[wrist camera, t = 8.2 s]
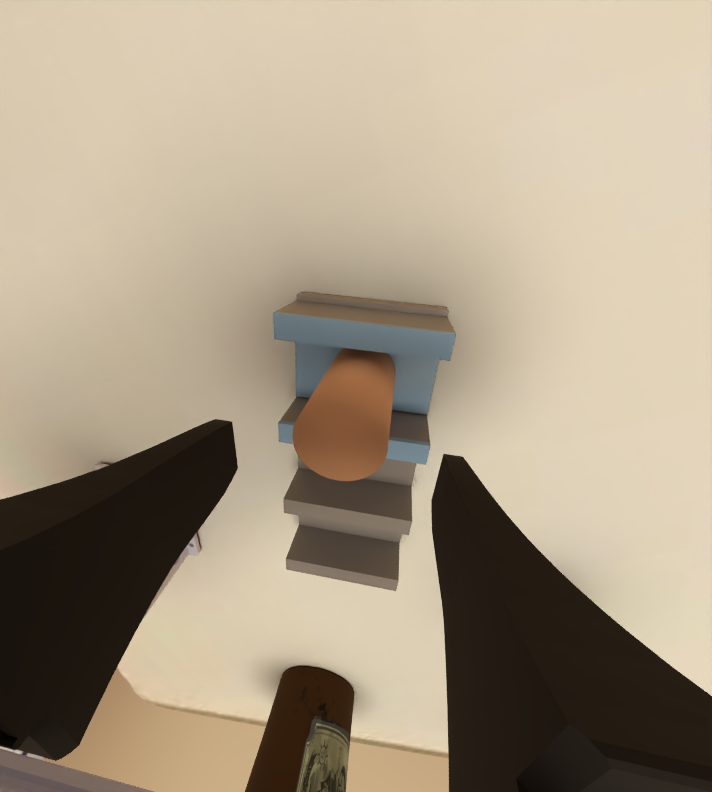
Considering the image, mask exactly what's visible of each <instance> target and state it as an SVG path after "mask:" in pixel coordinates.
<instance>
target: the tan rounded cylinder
mask: <svg viewBox="0 0 712 792" xmlns="http://www.w3.org/2000/svg"><path fill="white" fill-rule="evenodd" d="M395 373H396V372H395V365H394V362H393V360H392V358H391V357H390V355H389V354H388V353H382V352H374V351H366V350H358V349H350V348H343V349H342V350H341V351H340V352H339V353H338V355H337V356H336V358H335V359H334V361H333V363H332V364H331V366H330V367H329V369H328V370H327V372H326V374H325V375H324V377H323V378H322V380H321V382H320V383H319V385H318V386H317V388H316V390H315V391H314V393H313V394H312V396H311V397H310V399H309V401H308V402H307V404H306V405H305V407H304V409H303V410H302V412H301V413H300V415H299V417H298V418H297V420H296V422H295V424H294V428H293V435H292V437H293V444H294V447H295V450H296V452H297V454H298V456H299V457H300V458H301V460H302V461H303V462H304V463H305V464H306V465H307V466H308V467H309V468H310V469H311V470H313V471H314V472H316V473H318V474H319V475H321V476H324V477H326V478H329V479H333V480H338V481H355V480H360V479H363V478H366V477H368V476H370V475H371V474H373V473H374V472H376V471H377V470H378V469H379V468H380V467H381V465H382V464H383V462H384V461H385V458H386V456H387V452H388V443H389V433H390V423H391V413H392V403H393V394H394V384H395Z"/></svg>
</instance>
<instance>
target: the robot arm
mask: <svg viewBox="0 0 712 792" xmlns="http://www.w3.org/2000/svg"><path fill="white" fill-rule="evenodd" d="M237 469H238V465H237V457H236V449H235V441H234V433H233V426H232V422H230V421H224V420H217V419H215V420H212V421H209V422H207V423H204V424H202V425H200V426H198V427H195V428H193V429H191V430H189V431H187V432H184V433H182V434H180V435H178V436H176V437H173V438H171V439H169V440H167V441H165V442H163V443H160V444H158V445H156V446H154V447H152V448H149V449H147V450H144V451H142V452H140V453H137V454H135V455H133V456H130V457H128V458H125V459H123V460H121V461H118V462H116V463H113V464H111V465H107V464H101V463H98V464H97V465H95V466H94V471H92V472H89V473H87V474H84V475H81V476H78V477H75V478H72V479H69V480H66V481H63V482H60V483H57V484H53V485H50V486H47V487H43V488H40V489H36V490H33V491H30V492H26V493H23V494H20V495H16V496H13V497H9V498H5V499H1V500H0V792H153V791H150V790H146V789H142V788H139V787H135V786H132V785H128V784H125V783H121V782H117V781H114V780H110V779H107V778H103V777H100V776H96V775H93V774H89V773H86V772H82V771H78V770H75V769H71V768H68V767H64V766H61V765H57V764H54V763H50V762H46V761H43V760H42V759H43V758H44V757H45V758H48V759H52V760H55V761H56V760H59V759H61V758H63V757H64V756H66V755H67V754H69V753H71V752H72V751H73V750H74V749H75V748H76V747H77V746H79V744H80V742H81V740H82V738H83V736H84V734H85V731H86V729H87V727H88V725H89V723H90V721H91V719H92V716H93V715H94V713H95V710H96V708H97V706H98V704H99V702H100V700H101V698H102V696H103V694H104V692H105V690H106V688H107V686H108V683H109V682H110V680H111V677H112V675H113V674H114V671H115V670H116V668H117V666H118V664H119V662H120V660H121V658H122V656H123V655H124V653H125V651H126V649H127V647H128V645H129V643H130V641H131V639H132V637H133V635H134V633H135V632H136V630H137V628H138V626H139V624H140V623H141V621H142V619H143V618H144V616H145V615H146V614H147V613H148V611H149V610H150V608H151V607H152V605H153V604H154V603H155V601H156V600H157V598H158V597H159V595H160V594H161V593H162V591H163V590H164V588H165V587H166V585H167V584H168V583H169V581H170V580H171V578H172V577H173V575H174V574H175V573H176V571H177V570H178V568H179V567H180V565H181V564H182V563H183V561H184V560H185V558H186V557H187V555H188V554H189V555H195V556H196V555H198V554H199V552H200V546H199V542H198V538H197V534H196V533H197V531H198V530H199V528H200V527H201V526H202V524H203V523H204V522H205V520H206V519H207V517H208V516H209V515H210V513H211V512H212V510H213V509H214V508H215V506H216V505H217V503H218V502H219V501H220V499H221V498H222V496H223V495H224V493H225V492H226V490H227V488H228V486H229V484H230V483H231V481H232V479H233V477H234V475H235V473H236V471H237ZM432 533H433V541H434V548H435V556H436V563H437V570H438V577H439V584H440V591H441V599H442V607H443V617H444V633H445V653H446V678H447V705H448V747H449V792H712V696H711V695H709V694H708V693H707V692H705V691H704V690H703V689H701V688H700V687H699V686H697V685H696V684H694V683H693V682H692V681H690V680H689V679H688V678H686V677H685V676H684V675H682V674H681V673H680V672H678V671H677V670H675V669H674V668H673V667H672V666H670V665H669V664H668V663H666V662H665V661H664V660H663V659H661V658H660V657H659V656H658V655H656V654H655V653H654V652H653V651H651V650H650V649H649V648H648V647H646V646H645V645H644V644H643V643H641V642H640V641H639V640H638V639H636V638H635V637H634V636H633V635H631V634H630V633H629V632H628V631H626V630H625V629H624V628H623V627H622V626H620V625H619V624H618V623H617V622H616V621H614V620H613V619H612V618H611V617H610V616H608V615H607V614H606V613H605V612H604V611H603V610H601V609H600V608H599V607H598V606H597V605H596V604H595V603H594V602H593V601H591V600H590V599H589V598H588V597H587V596H586V595H585V594H584V593H582V592H581V591H580V590H579V589H578V588H577V587H576V586H575V585H573V584H572V583H571V582H570V581H569V580H568V579H567V578H566V577H565V576H564V575H563V574H562V573H561V572H560V571H559V570H558V569H557V568H556V567H555V566H554V565H553V564H552V563H551V562H550V561H549V560H548V559H547V558H546V557H545V556H544V555H543V554H542V553H541V552H540V551H539V550H538V549H537V548H536V547H535V546H534V545H533V544H532V543H531V542H530V541H529V540H528V539H527V537H526V536H525V535H524V534H523V533H522V532H521V531H520V530H519V528H518V527H517V526H516V525H515V524H514V523H513V522H512V520H511V519H510V518H509V517H508V516H507V514H506V513H505V512H504V511H503V510H502V508H501V507H500V506H499V505H498V503H497V502H496V501H495V499H494V498H493V497H492V496H491V494H490V493H489V492H488V490H487V489H486V488H485V486H484V485H483V484H482V482H481V481H480V480H479V478H478V477H477V475H476V474H475V473H474V471H473V470H472V468H471V467H470V466H469V464H468V463H467V462H466V460H465V459H464V458H463V457H460V456H454V455H447V454H444V455H443V458H442V462H441V466H440V470H439V474H438V478H437V482H436V486H435V489H434V493H433V497H432Z"/></svg>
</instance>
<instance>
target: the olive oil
mask: <svg viewBox="0 0 712 792" xmlns="http://www.w3.org/2000/svg"><path fill="white" fill-rule="evenodd" d="M353 703H354V691H353V689H352V687H351V686H350V685H349V684H348V683H347V682H346V681H345V680H344V679H342V678H341V677H339V676H337V675H335V674H333V673H331V672H328V671H325V670H322V669H318V668H312V667H295V668H291V669H289V670H287V671H286V672H284V674H283V675H282V678H281V680H280V684H279V687H278V690H277V693H276V696H275V700H274V703H273V706H272V709H271V712H270V716H269V719H268V722H267V725H266V728H265V732H264V735H263V738H262V741H261V744H260V747H259V750H258V753H257V756H256V759H255V762H254V765H253V769H252V772H251V775H250V778H249V781H248V784H247V787H246V790H245V792H346V780H347V769H348V755H349V746H350V734H351V724H352V713H353Z"/></svg>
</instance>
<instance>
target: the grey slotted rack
mask: <svg viewBox="0 0 712 792" xmlns="http://www.w3.org/2000/svg"><path fill="white" fill-rule="evenodd" d="M447 316H448V309H447V307H439V306H430V305H421V304H411V303H402V302H393V301H383V300H374V299H365V298H355V297H346V296H336V295H327V294H318V293H308V292H301V293H299V294H297V301H295V302H293V303H291V304H289V305H287V306H285V307H284V308H282V309H280V310H278V311H276V312H274V313H273V318H274V339H277V340H285V341H293V342H296V396H297V397H296V399H295V400H294V402H293V403H292V404H291V406H290V407H289V409H288V410H287V412H286V413H285V414H284V416H283V417H282V419H281V420H280V421H279V423H278V429H279V442H284V443H291V444H293V437H292V435H293V428H294V424H295V422H296V420H297V418H298V417H299V415H300V413H301V412H302V410H303V409H304V407H305V405H306V404H307V402H308V401H309V399H310V397H311V396H312V394H313V393H314V391H315V390H316V388H317V386H318V385H319V383H320V382H321V380H322V378H323V377H324V375H325V374H326V372H327V370H328V369H329V367H330V366H331V364H332V363H333V361H334V359H335V358H336V356H337V355H338V353H339V352H340V351H341V350H342V349H343V348H350V349H358V350H366V351H374V352H382V353H388V354H389V355H390V357H391V358H392V360H393V362H394V365H395V372H396V373H395V384H394V394H393V403H392V413H391V423H390V433H389V443H388V452H387V456H386V458H385V461H384V462H383V464H382V465H381V467H380V468H379V469H378V470H377V471H376V472H374V473H373V474H371V475H370V476H368V477H366V478H363V479H360V480H355V481H338V480H333V479H329V478H326V477H324V476H321V475H319V474H318V473H316V472H314V471H313V470H311V469H310V468H309V467H308V466H307V465H306V464H305V463H304V462H303V461H302V460H301V458H300V457H299V456H298V467H299V468H298V470H297V472H296V474H295V476H294V478H293V480H292V482H291V485H290V487H289V489H288V491H287V493H286V495H285V497H284V513H288V514H294V515H299V526H298V529H297V531H296V534H295V537H294V539H293V542H292V544H291V547H290V550H289V552H288V555H287V557H286V569H287V570H292V571H297V572H302V573H307V574H312V575H317V576H322V577H328V578H333V579H338V580H343V581H348V582H353V583H358V584H363V585H368V586H373V587H378V588H383V589H388V590H393V591H396V589H397V584H398V575H399V542H400V538H401V534H406V535H409V532H410V527H411V523H412V496H411V486H412V481H413V476H414V472H415V467H416V463H419V464H425V465H426V462H427V458H428V454H429V449H430V439H429V430H428V421H427V414H428V409H429V405H430V400H431V395H432V391H433V386H434V381H435V377H436V372H437V367H438V362H439V360H447V361H450V358H451V354H452V350H453V345H454V341H455V337H456V333H455V331H454V329H453V327H452V325H451V323H450V321H449V319H448V317H447Z"/></svg>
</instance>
